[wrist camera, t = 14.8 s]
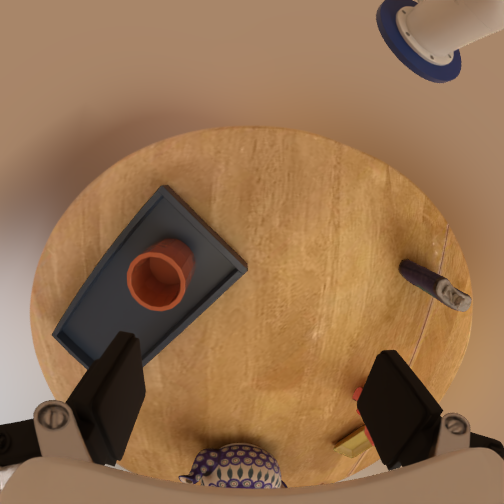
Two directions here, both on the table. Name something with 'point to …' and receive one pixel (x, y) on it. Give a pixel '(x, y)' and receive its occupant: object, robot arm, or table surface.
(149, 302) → the flower pot
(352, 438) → the yellow square dish
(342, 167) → the table surface
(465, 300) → the flask
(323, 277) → the table surface
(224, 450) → the teapot
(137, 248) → the tray
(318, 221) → the table surface
